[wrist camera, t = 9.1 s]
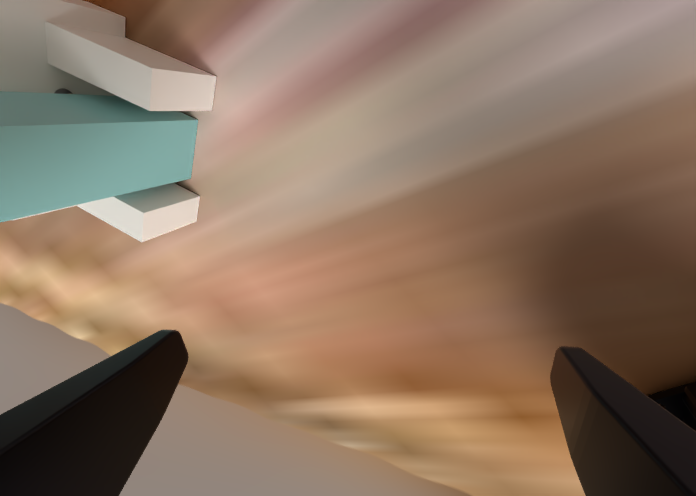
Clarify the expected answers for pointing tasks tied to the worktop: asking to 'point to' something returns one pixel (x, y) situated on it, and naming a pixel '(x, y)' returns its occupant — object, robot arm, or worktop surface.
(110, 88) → the socket
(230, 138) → the worktop surface
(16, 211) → the teal rectangular block
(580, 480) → the robot arm
